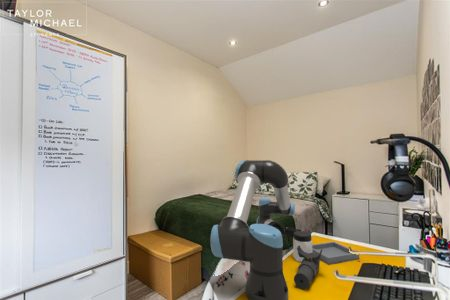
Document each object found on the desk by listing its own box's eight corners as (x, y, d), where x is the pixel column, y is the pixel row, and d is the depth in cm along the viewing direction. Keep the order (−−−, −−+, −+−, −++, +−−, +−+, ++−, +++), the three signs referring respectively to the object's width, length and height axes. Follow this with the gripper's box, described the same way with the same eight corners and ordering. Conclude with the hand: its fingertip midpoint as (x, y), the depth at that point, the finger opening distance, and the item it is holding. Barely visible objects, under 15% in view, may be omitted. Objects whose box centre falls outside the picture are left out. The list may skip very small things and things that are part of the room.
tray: (328, 264, 106) (328, 258, 106) (305, 251, 121) (305, 245, 121) (359, 259, 111) (359, 252, 111) (334, 247, 126) (334, 241, 126)
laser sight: (288, 286, 89) (288, 259, 89) (302, 263, 108) (302, 241, 108) (315, 293, 84) (315, 265, 84) (325, 268, 103) (324, 245, 103)
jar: (291, 255, 117) (291, 230, 117) (308, 255, 116) (307, 230, 117) (296, 263, 108) (296, 236, 108) (314, 263, 107) (314, 236, 108)
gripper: (290, 231, 144) (313, 243, 124) (253, 236, 136) (271, 249, 116) (290, 219, 144) (313, 229, 124) (253, 222, 136) (271, 234, 116)
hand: (293, 238), depth 120 cm, fingers open, 13 cm apart
